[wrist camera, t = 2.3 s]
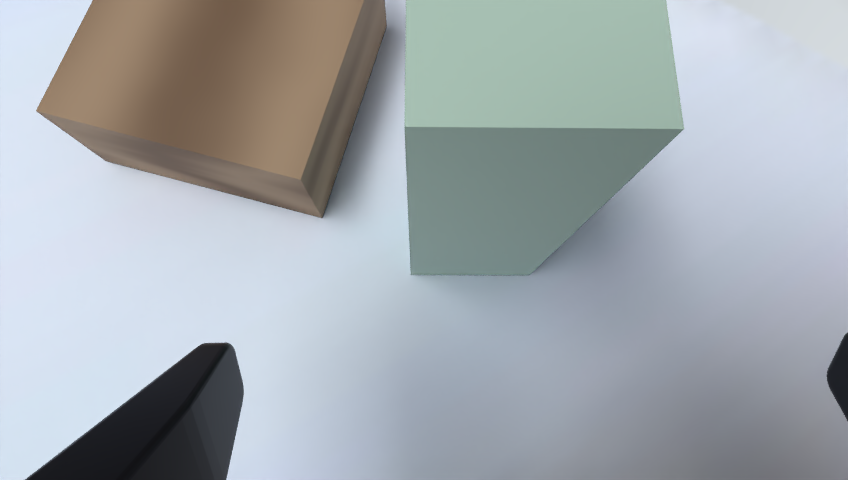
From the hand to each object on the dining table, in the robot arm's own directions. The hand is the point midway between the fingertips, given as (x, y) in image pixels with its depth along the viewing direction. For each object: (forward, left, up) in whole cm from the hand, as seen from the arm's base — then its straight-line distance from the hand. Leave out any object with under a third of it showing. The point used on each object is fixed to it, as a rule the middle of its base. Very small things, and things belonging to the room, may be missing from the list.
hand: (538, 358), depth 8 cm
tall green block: (+1, -6, -12) cm, 13 cm away
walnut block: (+11, -9, -12) cm, 18 cm away
